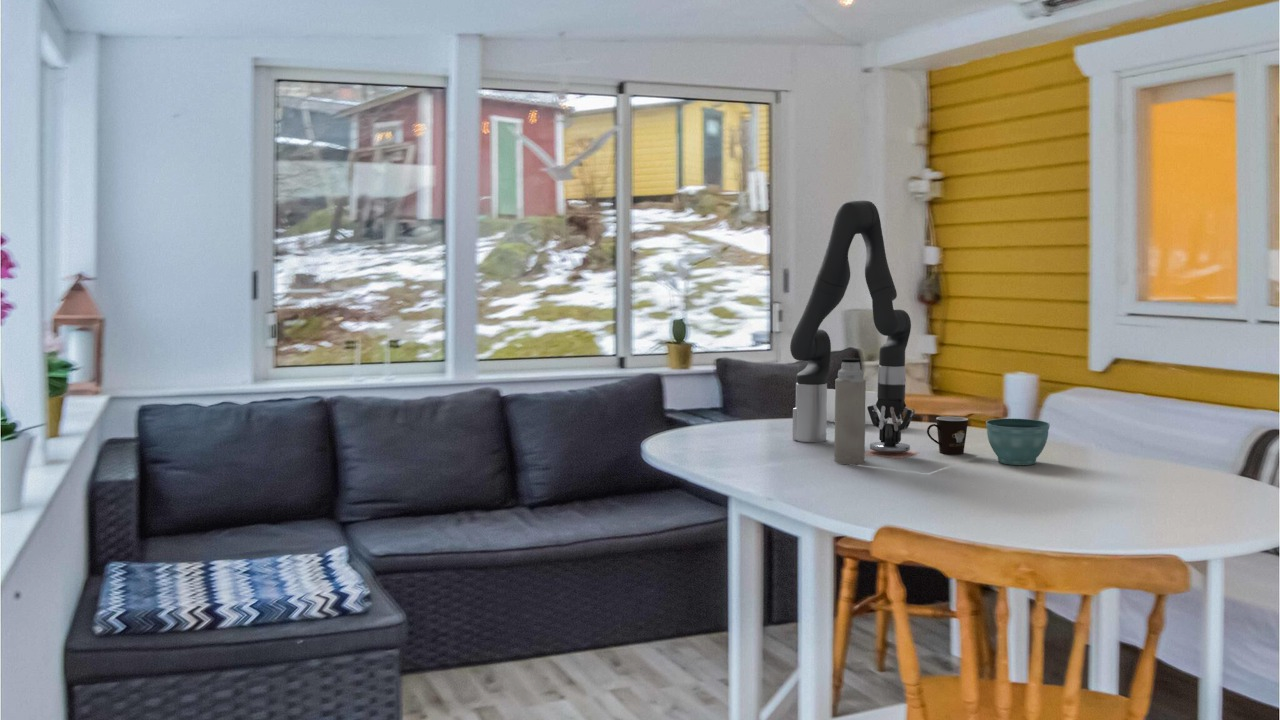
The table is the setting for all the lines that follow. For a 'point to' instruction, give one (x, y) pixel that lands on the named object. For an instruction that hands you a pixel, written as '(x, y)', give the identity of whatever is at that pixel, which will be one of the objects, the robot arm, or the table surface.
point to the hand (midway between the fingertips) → (890, 442)
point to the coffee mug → (950, 434)
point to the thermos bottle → (850, 413)
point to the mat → (891, 454)
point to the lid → (889, 442)
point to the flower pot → (1017, 439)
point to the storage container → (869, 401)
